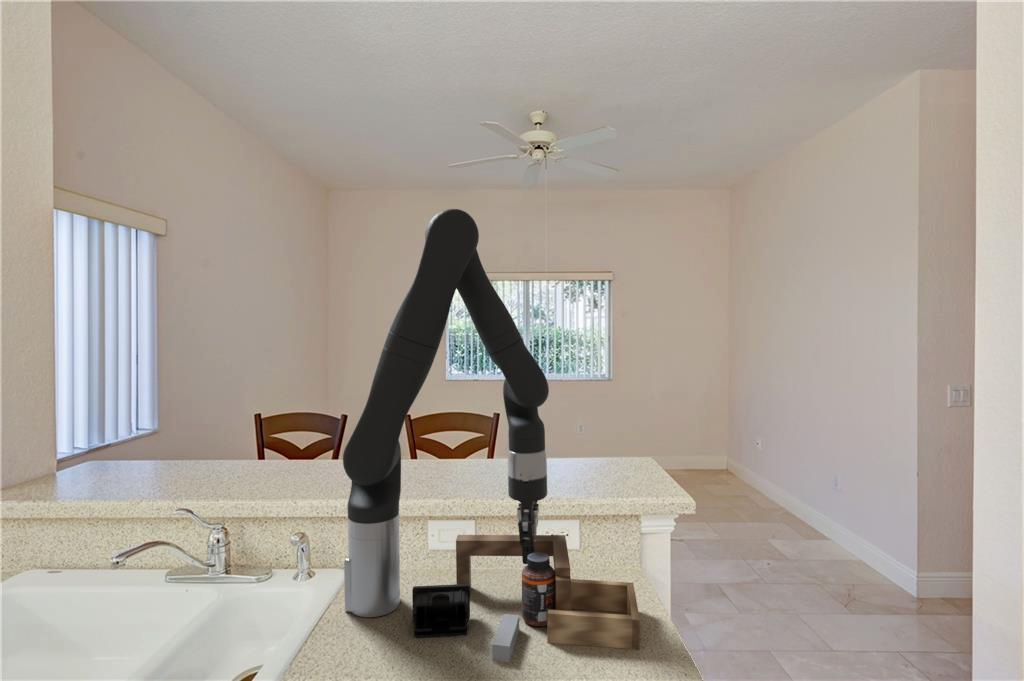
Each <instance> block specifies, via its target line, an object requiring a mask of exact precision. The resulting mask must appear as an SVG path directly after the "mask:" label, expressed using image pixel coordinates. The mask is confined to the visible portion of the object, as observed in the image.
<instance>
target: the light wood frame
mask: <svg viewBox="0 0 1024 681" xmlns="http://www.w3.org/2000/svg"><path fill="white" fill-rule="evenodd" d="M571 609H573V611H572V610H571V611H562V610H548V613H547V625H546V626H547V627H546V629H547V632H546V633H547V634H546V635H547V636H546V637H547V638H546V640H547V641H546V642H547V643H548V644H549V643H550V644H562V645H575V646H589V647H601V648H615V649H626V650H627V649H628V650H629V649H630V650H640V643H641V642H640V640H641V639H640V638H641V637H640V635H641V633H640V632H641V630H640V629H641V627H640V626H641V617H640V613H639V607H638V601H637V597H636V590H635V584H634V582H626V581H625V582H624V581H608V580H594V579H592V580H591V579H578V578H577V579H575V578H571ZM576 610H577V611H576ZM578 610H588V611H589V610H590V611H591V610H592V611H601V612H590V611H589V612H588V611H578ZM602 611H603V613H602ZM604 611H605V612H607V611H608V612H619V613H620V612H621V613H626V614H619V613H618V614H617V613H604Z"/></svg>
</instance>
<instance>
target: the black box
mask: <svg viewBox="0 0 1024 681" xmlns="http://www.w3.org/2000/svg"><path fill="white" fill-rule="evenodd" d="M411 591H412V594H411V595H412V596H411V597H412V603H411V604H412V609H411V611H412V626H413V630H414V631H413V637H414V639H417V640H418V639H433V638H435V639H436V638H450V637H454V638H455V637H466V636H467V635H468V632H469V631H468V630H469V629H468V628H469V627H468V624H469V622H470V619H471V589H470V585H469V584H457V583H456V584H437V585H436V584H435V585H417V586H416V585H415V586H412V590H411Z"/></svg>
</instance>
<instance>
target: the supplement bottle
mask: <svg viewBox="0 0 1024 681" xmlns="http://www.w3.org/2000/svg"><path fill="white" fill-rule="evenodd" d="M550 558H551V557H550V556H548V555H547V554H545V553H531V554H529V555H528V556H527V564H526V565H525V566H524V567H523V568H522V570H521V617H522V619H523V621H524V622H525V623H527V624H528V625H530V626H534V627H544V626H547V613H548V610H555V571H554V567H552V566H551V565H550V564H551V560H550Z"/></svg>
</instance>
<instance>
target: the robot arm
mask: <svg viewBox="0 0 1024 681" xmlns="http://www.w3.org/2000/svg"><path fill="white" fill-rule="evenodd" d="M424 236H425V237H424V239H425V241H424V246H423V248H422V249H423V250H422V253H421V257H420V261H419V263H418V268H417V271H416V274H415V276H414V280H413V282H412V284H411V286H410V287H409V290H408V291H407V293H406V296H405V297H404V299H403V301H402V302H401V305H400V306H399V309H398V310H397V312H396V314H395V317H394V319H393V321H392V323H391V326H390V328H389V331H388V333H387V336H386V338H385V341H384V345H383V346H382V350H381V352H380V357H379V360H378V362H377V363H378V364H377V366H376V369H375V373H374V376H373V379H372V383H371V387H370V392H369V395H368V397H367V401H366V404H365V406H364V409H363V411H362V413H361V416H360V417H359V420H358V422H357V424H356V427H355V428H354V430H353V432H352V434H351V436H350V438H349V440H348V442H347V444H346V446H345V447H344V450H343V454H342V465H343V469H344V472H345V474H346V475H347V477H348V478H349V479H350V480H351V484H350V485H351V487H350V492H349V498H348V502H347V534H348V535H347V537H348V539H347V544H348V545H347V546H348V547H347V550H348V552H347V556H346V558H345V559H344V561H343V570H344V571H343V574H344V575H343V579H344V582H343V583H344V587H343V588H344V611H345V612H350V613H352V614H353V615H355V616H358V617H362V618H376V617H381V616H385V615H388V614H390V613H391V612H394V611H395V610H396V609H397V608H398V607H399V606H400V603H401V598H400V596H401V585H400V583H401V582H400V581H401V575H400V574H401V573H400V572H401V571H400V569H401V568H400V567H401V566H400V565H401V564H400V561H401V560H400V556H401V555H400V499H401V492H402V450H401V444H400V441H399V439H400V436H401V432H402V429H403V425H404V424H405V420H406V418H407V415H408V413H409V411H410V409H411V407H412V406H413V404H414V402H415V400H416V398H417V397H418V395H419V393H420V391H421V389H422V388H423V386H424V383H425V382H426V380H427V377H428V376H429V373H430V371H431V369H432V366H433V363H434V362H435V361H434V360H435V358H436V355H437V353H438V349H439V347H440V344H441V341H442V338H443V335H444V332H445V328H446V325H447V322H448V317H449V314H450V310H451V306H452V302H453V298H454V295H455V293H456V290H457V292H458V294H459V296H460V297H461V299H462V302H463V304H464V306H465V307H466V309H467V312H468V314H469V317H470V318H471V321H472V323H473V325H474V328H475V330H476V333H477V334H478V336H479V338H480V340H481V342H482V344H483V346H484V349H485V350H486V353H487V354H488V356H489V358H490V360H491V361H492V363H493V364H495V365H496V366H497V368H499V369H500V371H501V373H502V374H503V376H504V381H503V388H502V394H503V403H504V409H505V415H506V419H507V424H508V434H507V435H508V436H507V437H508V456H507V484H508V486H507V488H508V490H507V492H508V497H509V498H510V499H512V500H514V501H517V502H519V503H518V507H517V510H516V516H517V518H518V522H517V526H518V527H517V528H518V535H519V537H520V546H522V556H521V558H522V564H523V565H528V564H527V556H528V555H529V554H531V553H534V544H535V541H534V535H538V534H537V531H538V530H537V529H538V524H539V512H540V507H539V506H540V503H538V502H540V501H541V500H544V499H545V498H546V497H547V496H548V470H547V468H548V467H547V466H548V465H547V464H548V462H547V456H546V455H547V454H546V431H545V424H544V421H543V420H542V419H541V418H540V416H539V407H541V406H543V405H544V404H545V402H546V400H547V399H548V397H549V392H550V387H549V383H548V379H547V378H546V375H545V373H544V371H543V370H542V368H541V367H540V365H539V364H538V362H537V361H536V359H535V358H534V356H533V355H532V353H531V352H530V351H529V350H528V348H527V346H526V344H525V342H524V339H523V337H522V335H521V333H520V331H519V329H518V326H517V325H516V323H515V321H514V319H513V317H512V315H511V313H510V312H509V310H508V308H507V306H506V305H505V304H504V302H503V300H502V299H501V297H500V296H499V293H497V291H496V289H495V287H494V286H493V284H492V283H491V280H490V279H489V277H488V275H487V273H486V271H485V269H484V267H483V265H482V261H481V259H480V256H479V253H478V249H477V247H478V244H479V239H480V234H479V228H478V226H477V224H476V221H475V220H474V218H473V217H472V216H471V215H470V214H469V213H467V212H466V211H465V210H462V209H458V208H448V209H444V210H441V211H439V212H438V213H436V214H435V215H434V216H433V217H432V218H431V220H429V222H428V224H427V226H426V229H425V233H424ZM524 538H530V539H524Z"/></svg>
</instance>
